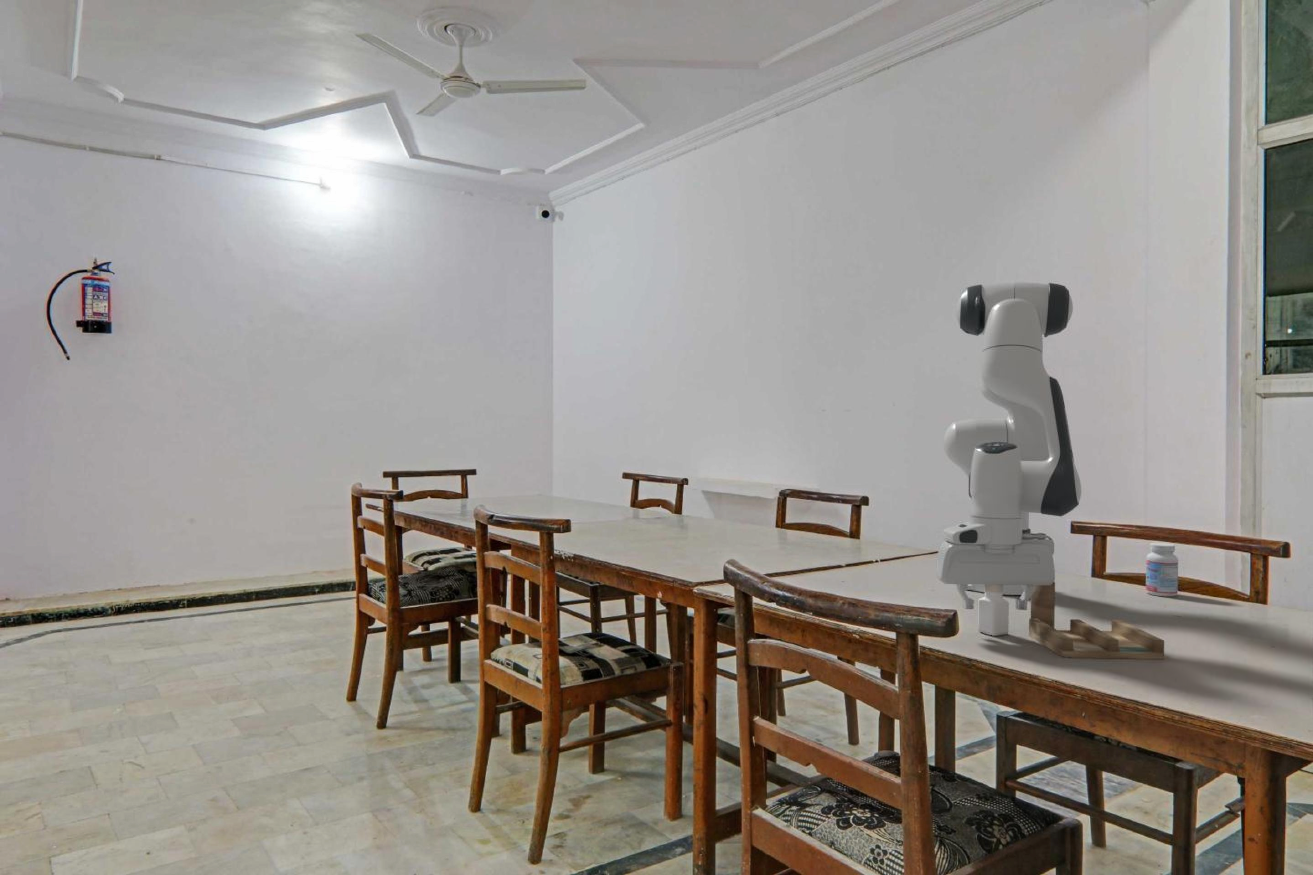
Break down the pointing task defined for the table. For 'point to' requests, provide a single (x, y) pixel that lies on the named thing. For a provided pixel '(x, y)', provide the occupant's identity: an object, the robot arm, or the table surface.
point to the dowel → (1043, 603)
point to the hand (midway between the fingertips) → (994, 609)
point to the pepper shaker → (993, 611)
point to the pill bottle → (1162, 570)
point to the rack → (1098, 640)
